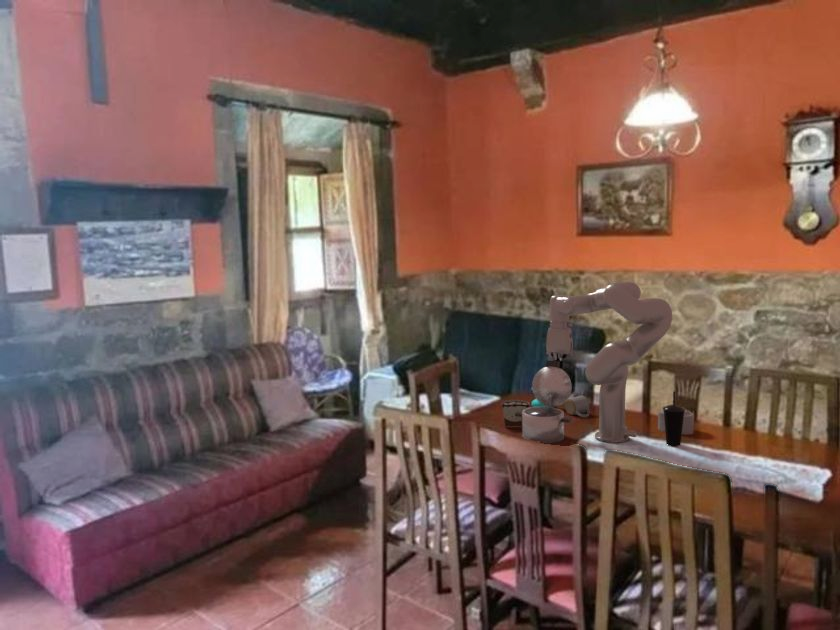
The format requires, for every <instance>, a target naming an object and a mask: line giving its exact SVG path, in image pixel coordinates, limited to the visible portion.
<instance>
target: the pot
mask: <svg viewBox="0 0 840 630" xmlns="http://www.w3.org/2000/svg"><path fill="white" fill-rule="evenodd" d="M515 416H517V417H522V427H521V429H522V431H521V432H522V433H521V434H522V435H521V437H523V438H524V440H525V439H527V440H533V441H540V442H543V443H542V444H555V443H559V442H562V441H563V440H564V439H565V424H566V423H567V424H570V423H571V422H572V421H573V418H572V417H570V416H569V417H568V416H565V412H564V410H563V409H560V408H558V407H557V408H556V407H533V406H531V408H530V407H529V408H526V409H524V410H523V411H522V412H516V413H515ZM523 438H522V439H523ZM527 440H526V441H527Z"/></svg>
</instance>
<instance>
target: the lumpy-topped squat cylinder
mask: <svg viewBox="0 0 840 630" xmlns="http://www.w3.org/2000/svg"><path fill="white" fill-rule="evenodd" d="M682 407H683V406H682ZM683 408H685V407H683ZM694 418H695V417H694V413H693V412H691V411H689V410H688V409H686V408H685V411H684V418H683V427H682V435H686V436H687V435H692V434H693V435H694V420H695V419H694ZM657 430H659V431H661V432H665V420H664V410H663V408H662V409H660V410H658V413H657Z"/></svg>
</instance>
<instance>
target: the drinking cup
mask: <svg viewBox="0 0 840 630" xmlns="http://www.w3.org/2000/svg"><path fill="white" fill-rule="evenodd" d="M672 398H673V399H672V404H669V405H665V406H663V407H662V409H663V410H664V420H665V444H666V445H667V444H668V445H667V446H669V445H671V446H670V447H680V446H681V443H682V442H681V441H682V435H683V434H682V427H683V418H684V411H685V409H686V408H685V407H684V408H683V406H680V405H678V404H676V390H673V393H672Z"/></svg>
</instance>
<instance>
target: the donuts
mask: <svg viewBox="0 0 840 630" xmlns="http://www.w3.org/2000/svg"><path fill="white" fill-rule="evenodd" d="M531 391H532V392H533V390H532V389H531ZM531 407H549V406H545V405H543V404H541V403H540V402H539V401H538V400H537V399H536V398H535V399H533V400H532V401H531Z"/></svg>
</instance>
